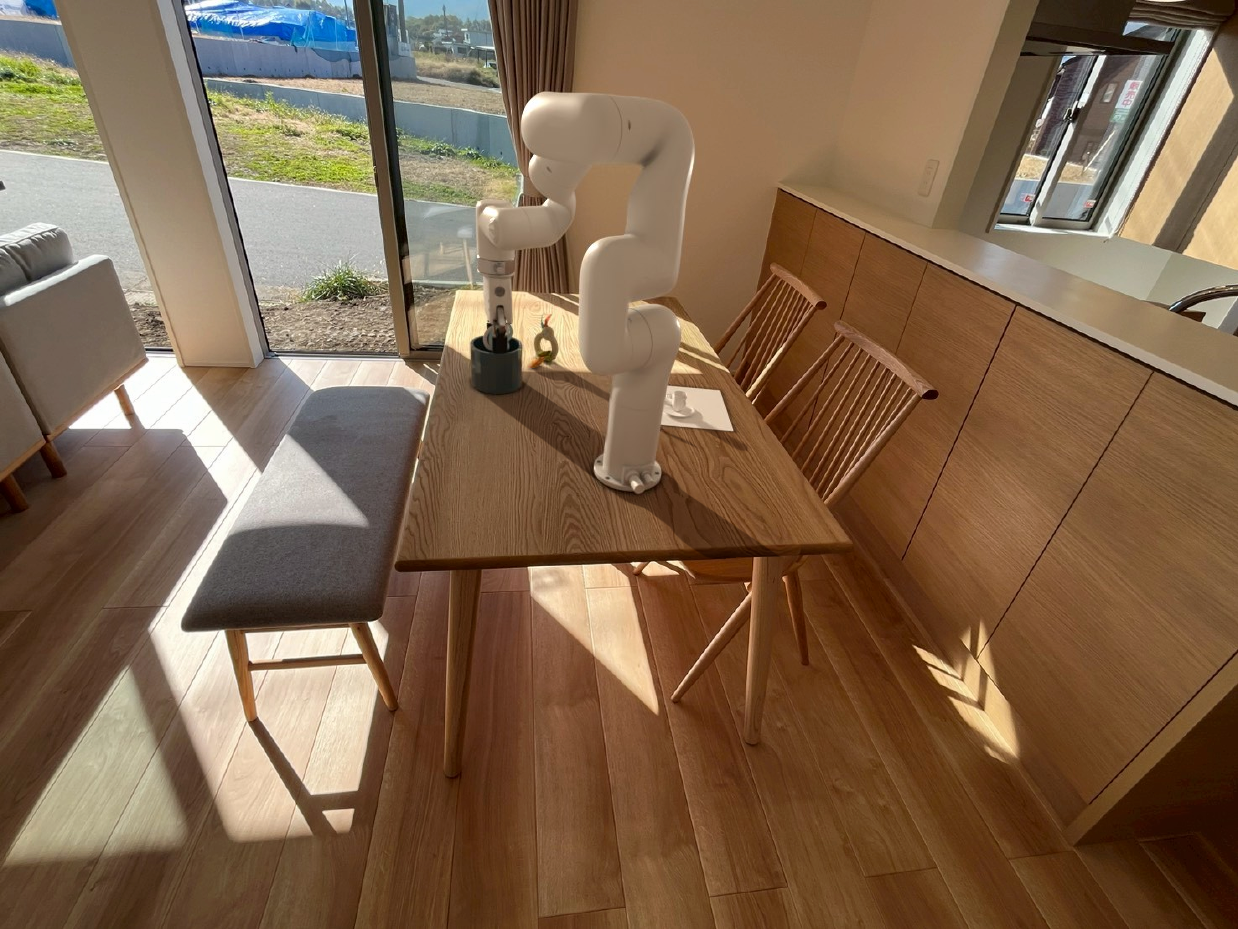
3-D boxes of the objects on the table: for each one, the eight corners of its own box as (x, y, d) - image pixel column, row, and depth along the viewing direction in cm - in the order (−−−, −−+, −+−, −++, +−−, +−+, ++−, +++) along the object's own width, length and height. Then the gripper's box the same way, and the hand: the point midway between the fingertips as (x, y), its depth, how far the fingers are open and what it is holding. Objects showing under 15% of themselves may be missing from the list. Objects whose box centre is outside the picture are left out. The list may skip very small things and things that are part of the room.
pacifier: (479, 350, 130) (506, 358, 131) (480, 335, 124) (509, 343, 125) (487, 322, 132) (514, 330, 134) (489, 306, 127) (517, 315, 128)
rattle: (516, 359, 148) (517, 314, 142) (543, 353, 153) (545, 309, 147) (533, 370, 144) (534, 324, 138) (560, 364, 149) (563, 319, 143)
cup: (525, 392, 134) (526, 353, 128) (474, 395, 130) (473, 354, 125) (516, 371, 142) (517, 333, 137) (469, 373, 139) (467, 334, 134)
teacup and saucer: (658, 398, 138) (660, 382, 136) (692, 401, 138) (695, 386, 136) (660, 416, 131) (663, 400, 128) (696, 420, 131) (699, 403, 129)
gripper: (522, 278, 116) (521, 362, 126) (507, 254, 130) (507, 332, 139) (483, 277, 114) (485, 363, 123) (472, 253, 127) (474, 332, 137)
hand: (497, 346), depth 131 cm, fingers closed on pacifier, 7 cm apart
